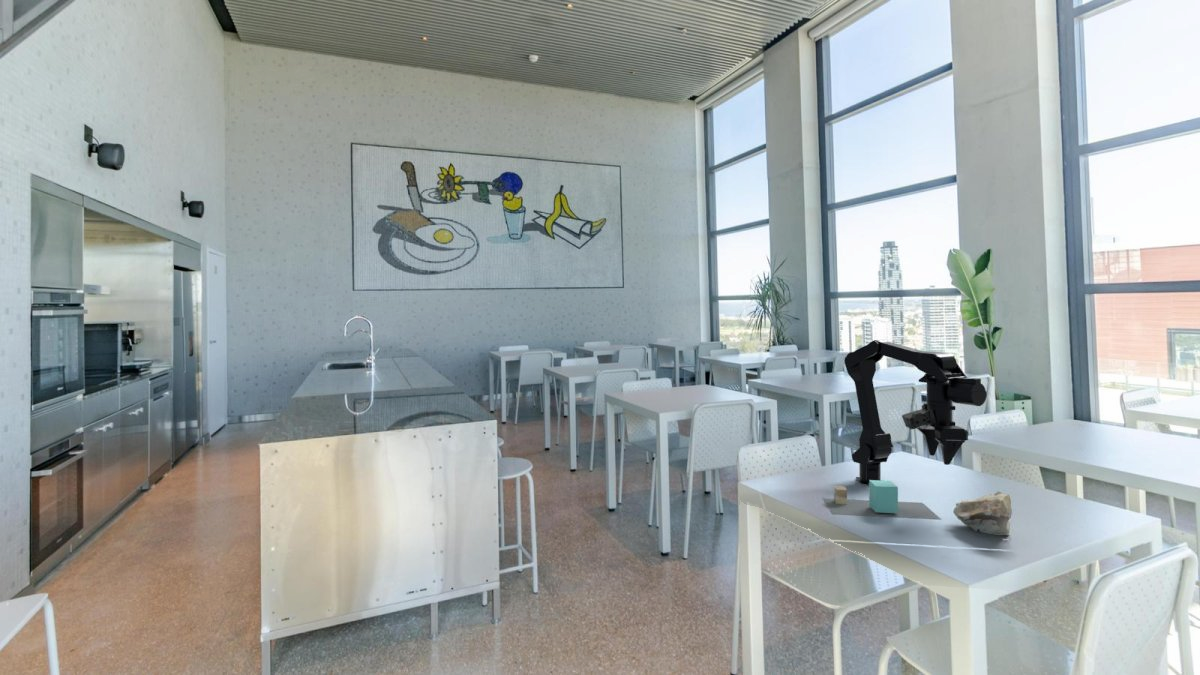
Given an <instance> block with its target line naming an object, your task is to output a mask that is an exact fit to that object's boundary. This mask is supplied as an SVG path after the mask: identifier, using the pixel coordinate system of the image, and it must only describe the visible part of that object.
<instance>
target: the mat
mask: <svg viewBox="0 0 1200 675" xmlns="http://www.w3.org/2000/svg"><path fill="white" fill-rule="evenodd" d="M821 499H822V501H823V502H824V503H825V505H826V507H827V508H828V509H829V512H830V513H831V515H840V516H857V517H858V516H861V517H862V516H863V517H881V518H882V517H883V518H902V519H904V518H905V519H921V520H922V519H924V520H925V519H926V520H940V521H941V520H942V518H940V516H938V515H937V514H936V513H935V512H934V511H933V510H931V509H930V508H929V507H928V506H927V505H926V504H925V503H923V502H919V501H918V502H917V501H916V502H914V501H913V502H911V501H898V513H879V512H875V511H874V510H873V509H872V508H871V507H870V506H869V499H868V500H867V499H866V500H865V499H848V498H847V505H843V504H836V503H835V501H834V498H821Z"/></svg>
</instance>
